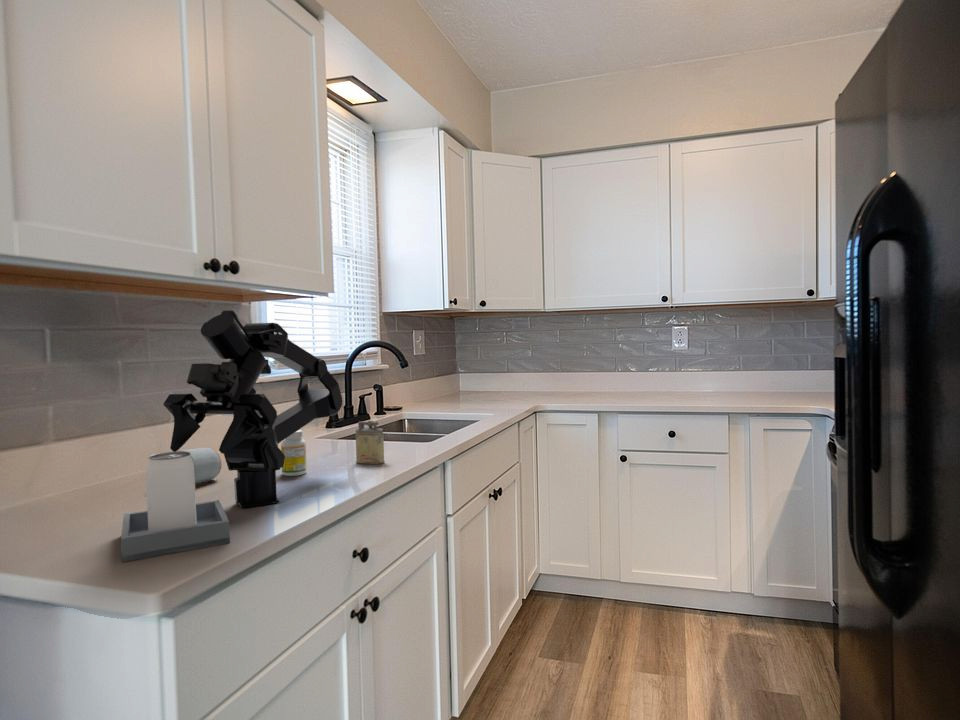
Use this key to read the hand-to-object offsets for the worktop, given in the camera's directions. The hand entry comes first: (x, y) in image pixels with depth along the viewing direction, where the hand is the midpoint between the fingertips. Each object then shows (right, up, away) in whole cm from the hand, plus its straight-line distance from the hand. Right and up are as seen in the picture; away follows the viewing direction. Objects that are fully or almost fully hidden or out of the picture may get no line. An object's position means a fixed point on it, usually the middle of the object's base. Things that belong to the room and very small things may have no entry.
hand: (196, 451), depth 93 cm
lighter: (+19, -10, +47) cm, 52 cm away
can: (-1, -12, -5) cm, 13 cm away
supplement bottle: (+4, -11, +38) cm, 39 cm away
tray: (-1, -13, -4) cm, 13 cm away
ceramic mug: (-16, -12, +31) cm, 37 cm away
